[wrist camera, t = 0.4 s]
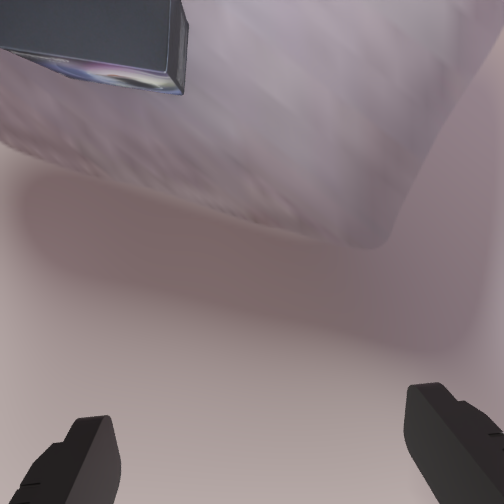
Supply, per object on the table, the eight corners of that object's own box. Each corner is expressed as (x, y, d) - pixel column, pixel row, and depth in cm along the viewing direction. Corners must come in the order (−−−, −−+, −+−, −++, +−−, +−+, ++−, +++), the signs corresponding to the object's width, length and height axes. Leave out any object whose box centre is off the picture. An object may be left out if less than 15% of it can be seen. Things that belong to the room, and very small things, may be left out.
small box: (66, 82, 31) (-11, 50, 21) (64, -1, 29) (-21, -81, 19) (185, 100, 32) (166, 77, 22) (190, 20, 30) (172, -45, 20)
